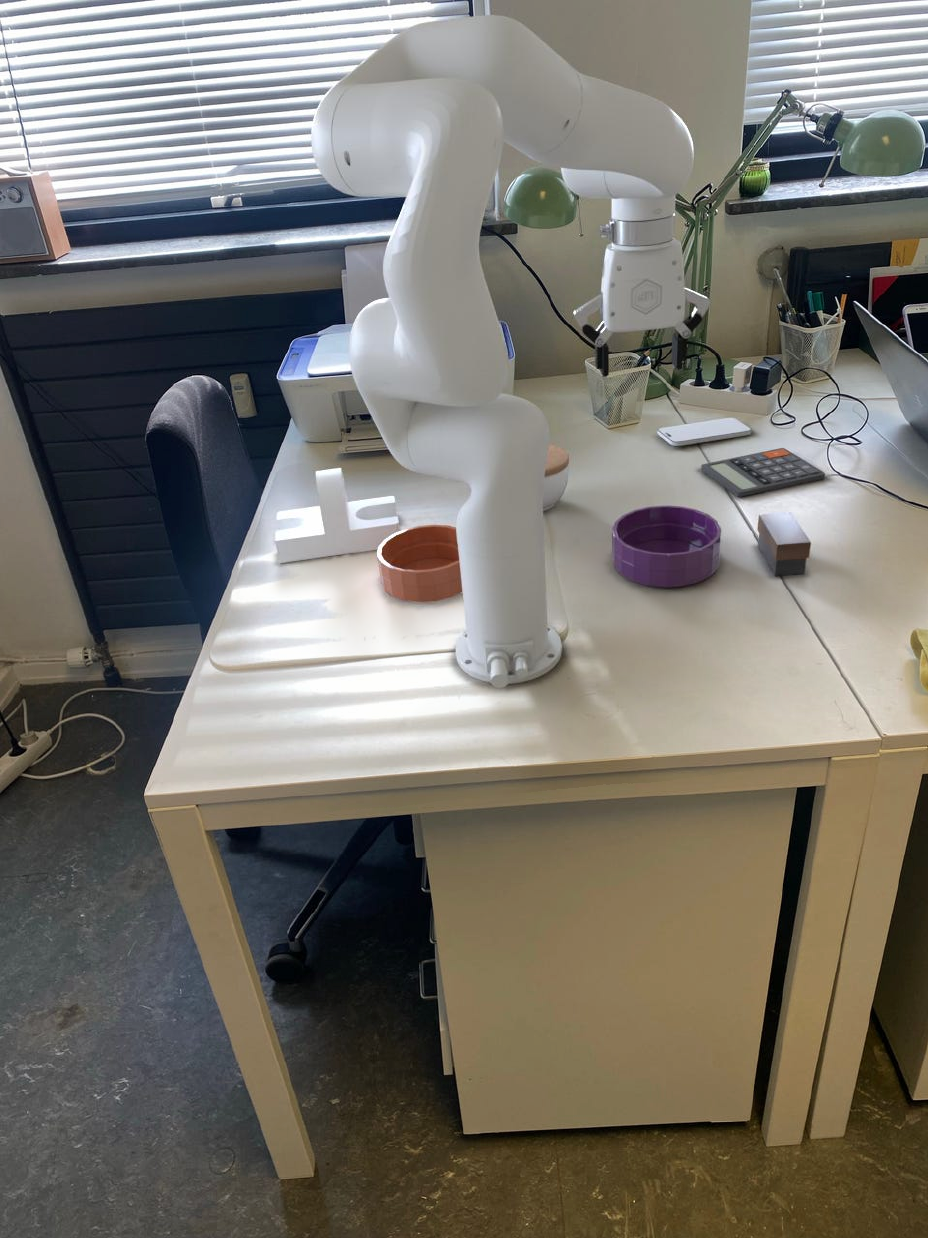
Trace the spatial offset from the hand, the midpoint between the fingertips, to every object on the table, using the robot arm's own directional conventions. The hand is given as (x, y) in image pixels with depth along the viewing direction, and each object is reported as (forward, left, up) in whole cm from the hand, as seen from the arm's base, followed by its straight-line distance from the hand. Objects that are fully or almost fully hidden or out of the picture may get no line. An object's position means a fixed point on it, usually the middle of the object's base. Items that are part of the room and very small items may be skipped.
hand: (640, 369), depth 119 cm
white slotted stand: (+3, +44, -23) cm, 50 cm away
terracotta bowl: (-11, +30, -23) cm, 40 cm away
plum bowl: (-12, -2, -23) cm, 26 cm away
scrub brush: (-13, -17, -23) cm, 31 cm away
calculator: (+14, -22, -23) cm, 35 cm away
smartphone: (+32, -17, -23) cm, 43 cm away
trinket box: (+10, +14, -23) cm, 29 cm away
